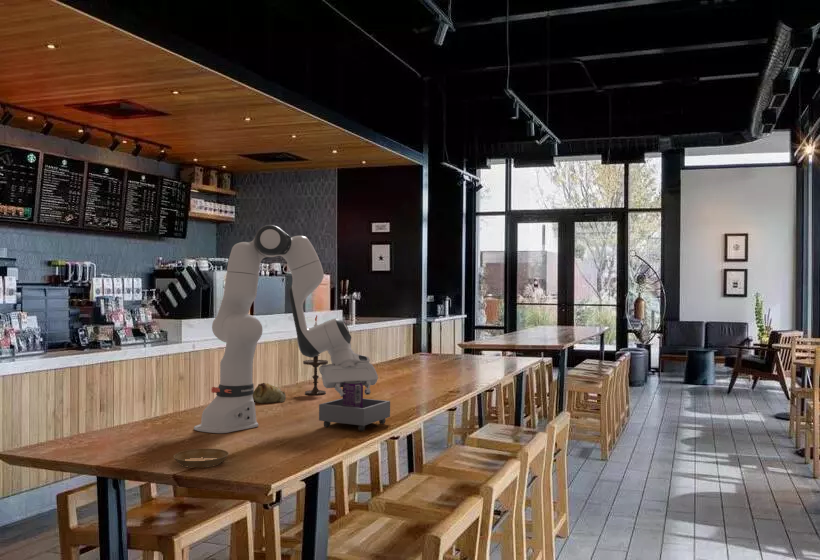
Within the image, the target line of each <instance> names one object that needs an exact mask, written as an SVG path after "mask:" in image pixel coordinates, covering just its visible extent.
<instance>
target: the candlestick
mask: <svg viewBox="0 0 820 560" xmlns="http://www.w3.org/2000/svg"><path fill="white" fill-rule="evenodd" d="M315 316H316V317H315V319H314V320H315V323H314V324H313V327H315V326H317V325H318V320H317V319H318V315H317V314H316V315H315ZM319 356H321V354H319V355H317V356H315V357H313V358H312V359H306V360H303V362H302V363H303V365H308V366H312V367H313V375H312V379H313V381H312V383H313V388H312V389H311V390H310V389H309V390H306V391H305V392H304V395H306V396H323V395H326V392H327V391H325V390H320V389H319V388H318V384H319V381H318V379H319V377H320V376H319V375H318V368H319V367H320V366H322V365H324V364H326V365H328V364H329V360H325V359H319Z"/></svg>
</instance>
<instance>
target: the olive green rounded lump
mask: <svg viewBox="0 0 820 560" xmlns="http://www.w3.org/2000/svg"><path fill="white" fill-rule="evenodd" d="M286 396H287V395H286V391H283V390H281V388H280V387H278V386H275V385H273V384H270V383H265V382H262V383H258V385H257V386H256V388H254V393H253V400H254V401H255V403H258V404H259V403H260V404H271V403H272V404H275V403H274V402H276V403H284V402H285V401H286V399H287V398H286Z"/></svg>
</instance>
